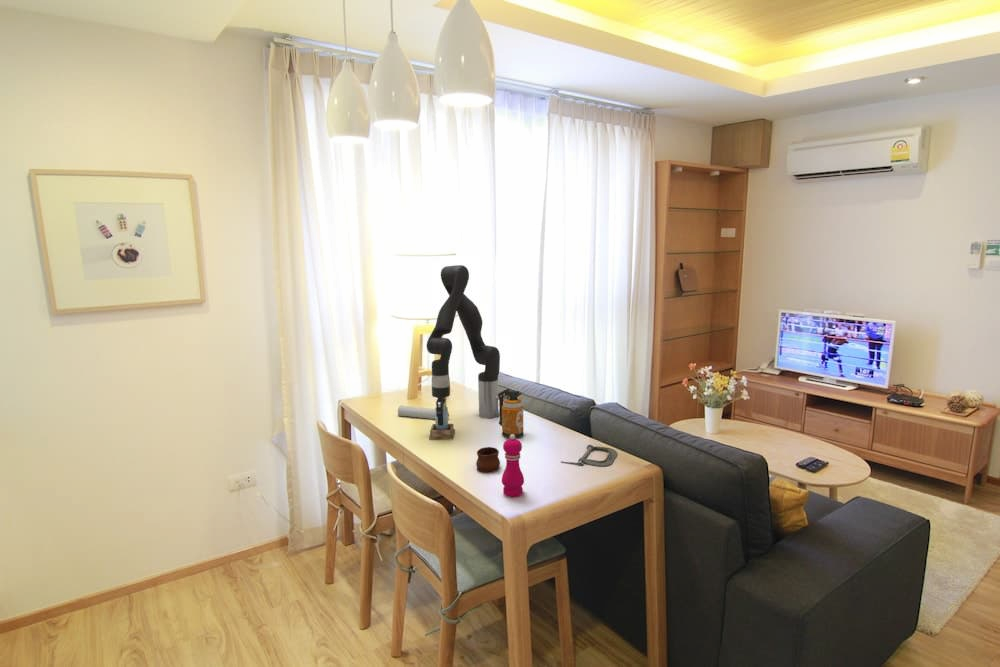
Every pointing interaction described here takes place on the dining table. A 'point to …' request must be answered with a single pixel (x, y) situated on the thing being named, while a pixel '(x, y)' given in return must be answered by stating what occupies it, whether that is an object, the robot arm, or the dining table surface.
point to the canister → (511, 413)
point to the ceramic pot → (487, 460)
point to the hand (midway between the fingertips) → (441, 422)
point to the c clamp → (604, 463)
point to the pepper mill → (512, 468)
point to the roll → (445, 420)
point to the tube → (417, 412)
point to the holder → (442, 433)
